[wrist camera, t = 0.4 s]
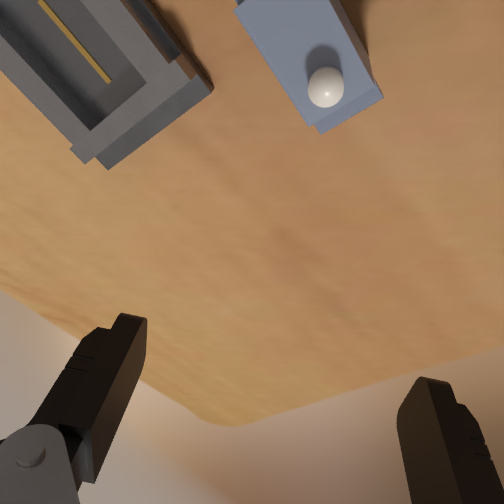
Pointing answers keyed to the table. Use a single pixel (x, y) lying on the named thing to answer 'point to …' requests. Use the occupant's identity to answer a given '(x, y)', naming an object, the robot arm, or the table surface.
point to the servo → (313, 57)
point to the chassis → (99, 71)
